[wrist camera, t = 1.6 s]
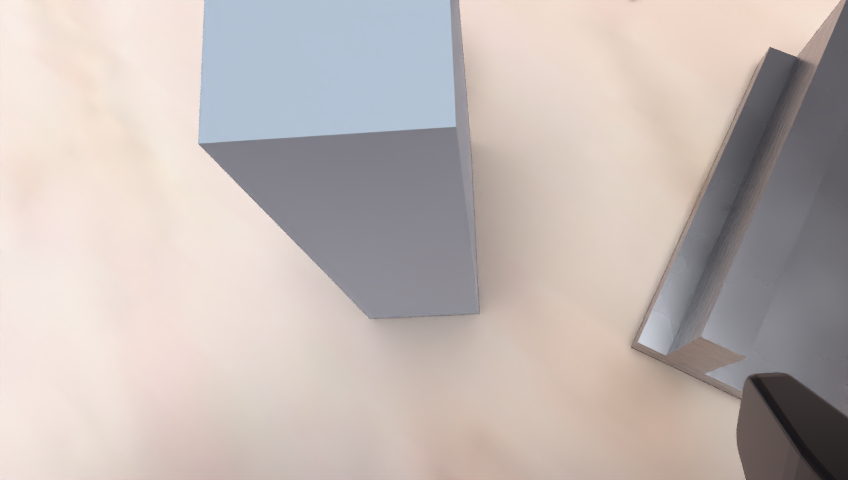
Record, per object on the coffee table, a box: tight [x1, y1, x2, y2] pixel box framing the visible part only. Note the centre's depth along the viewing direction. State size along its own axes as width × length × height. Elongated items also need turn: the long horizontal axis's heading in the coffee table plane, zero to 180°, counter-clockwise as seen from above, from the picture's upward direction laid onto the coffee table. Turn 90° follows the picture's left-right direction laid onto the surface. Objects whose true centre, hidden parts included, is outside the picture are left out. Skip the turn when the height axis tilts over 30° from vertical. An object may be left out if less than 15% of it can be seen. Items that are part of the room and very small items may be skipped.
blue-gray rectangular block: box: [198, 0, 479, 319], centre depth 16 cm, size 5×3×13 cm, turn 2°
